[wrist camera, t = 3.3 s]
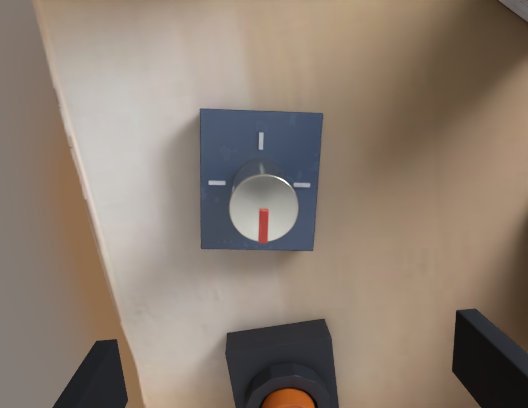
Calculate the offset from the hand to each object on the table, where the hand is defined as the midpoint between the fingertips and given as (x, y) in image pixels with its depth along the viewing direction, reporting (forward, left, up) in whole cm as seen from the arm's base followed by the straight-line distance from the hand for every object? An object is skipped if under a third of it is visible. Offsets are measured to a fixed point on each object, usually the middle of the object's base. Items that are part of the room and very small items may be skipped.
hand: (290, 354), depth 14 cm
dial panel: (-2, -3, -21) cm, 21 cm away
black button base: (+12, +13, -21) cm, 27 cm away
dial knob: (-2, -3, -18) cm, 19 cm away
